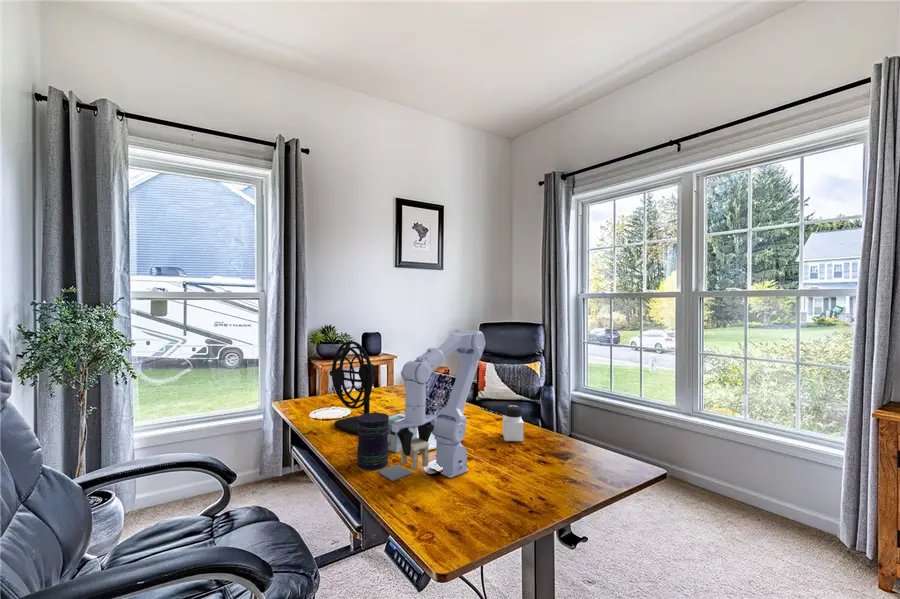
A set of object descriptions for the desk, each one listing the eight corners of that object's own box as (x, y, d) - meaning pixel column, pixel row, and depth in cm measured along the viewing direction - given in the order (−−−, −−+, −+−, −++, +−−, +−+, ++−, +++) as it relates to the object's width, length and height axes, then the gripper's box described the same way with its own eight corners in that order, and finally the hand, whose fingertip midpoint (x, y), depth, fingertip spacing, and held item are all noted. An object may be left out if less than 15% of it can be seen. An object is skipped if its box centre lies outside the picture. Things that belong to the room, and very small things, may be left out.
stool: (428, 465, 115) (428, 442, 115) (413, 470, 112) (414, 446, 112) (415, 459, 119) (415, 437, 119) (401, 463, 116) (401, 440, 116)
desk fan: (319, 424, 169) (321, 339, 169) (356, 415, 182) (357, 337, 181) (357, 440, 150) (358, 345, 150) (394, 430, 163) (396, 342, 163)
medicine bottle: (523, 441, 152) (524, 409, 152) (504, 441, 152) (505, 409, 152) (520, 435, 159) (521, 404, 159) (502, 434, 160) (503, 404, 160)
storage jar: (394, 464, 130) (395, 417, 129) (368, 473, 123) (368, 423, 123) (376, 455, 137) (377, 410, 137) (350, 463, 130) (351, 416, 130)
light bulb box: (396, 453, 139) (397, 421, 139) (382, 448, 143) (383, 418, 143) (417, 444, 147) (418, 414, 147) (403, 440, 151) (404, 411, 151)
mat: (413, 474, 123) (413, 472, 123) (392, 481, 118) (392, 479, 118) (397, 465, 129) (397, 464, 129) (377, 472, 124) (377, 470, 124)
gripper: (426, 397, 123) (425, 442, 123) (385, 405, 113) (385, 454, 113) (441, 402, 118) (441, 449, 118) (400, 411, 108) (399, 462, 108)
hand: (414, 452), depth 115 cm, fingers closed on stool, 5 cm apart
